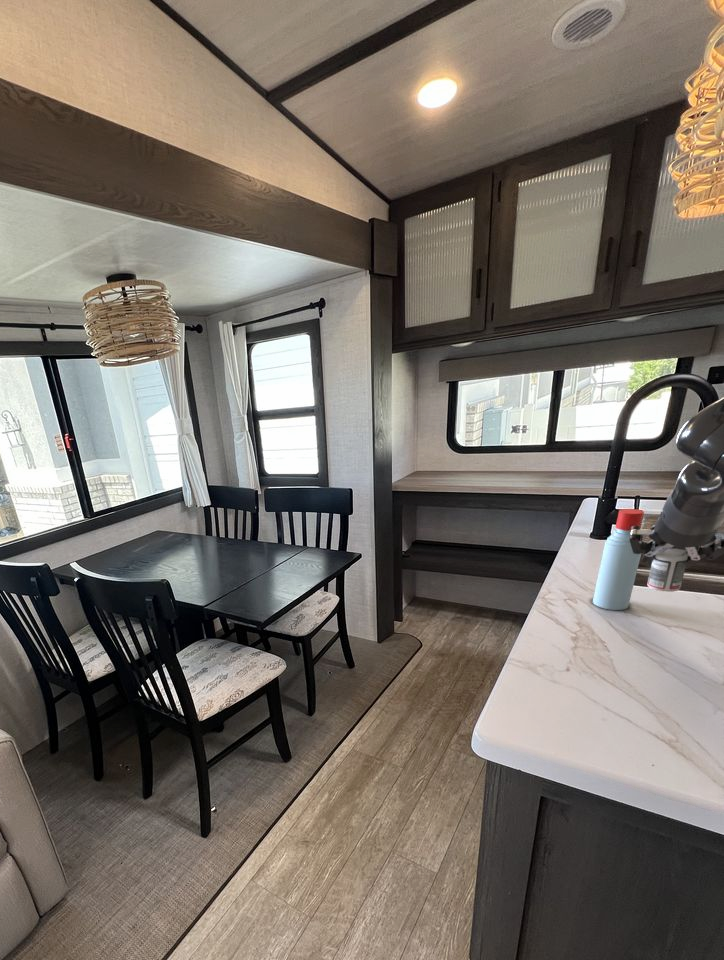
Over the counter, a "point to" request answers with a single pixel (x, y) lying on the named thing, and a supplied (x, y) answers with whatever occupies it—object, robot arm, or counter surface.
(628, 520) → the cap
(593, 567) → the counter surface
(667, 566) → the pill bottle
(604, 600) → the water bottle
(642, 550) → the robot arm
